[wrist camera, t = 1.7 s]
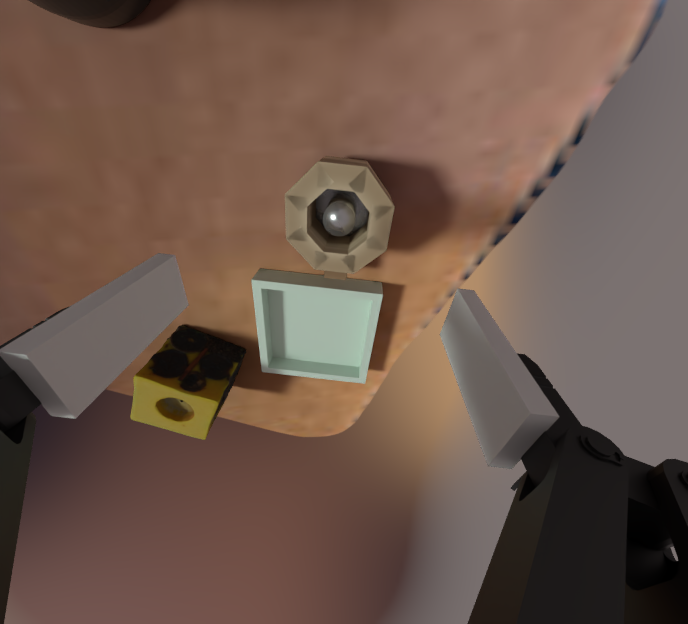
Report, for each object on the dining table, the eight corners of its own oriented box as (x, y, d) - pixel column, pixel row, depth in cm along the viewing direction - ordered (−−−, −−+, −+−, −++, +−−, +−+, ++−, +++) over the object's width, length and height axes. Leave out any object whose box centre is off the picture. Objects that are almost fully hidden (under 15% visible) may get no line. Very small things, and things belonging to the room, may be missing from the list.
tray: (260, 268, 33) (251, 279, 31) (381, 282, 33) (383, 294, 31) (268, 357, 41) (261, 371, 39) (364, 368, 42) (365, 383, 39)
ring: (297, 152, 24) (283, 157, 20) (395, 163, 24) (401, 170, 20) (297, 266, 30) (287, 287, 26) (375, 275, 30) (377, 298, 26)
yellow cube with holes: (172, 365, 44) (127, 419, 36) (179, 321, 39) (129, 373, 31) (233, 386, 46) (204, 443, 38) (248, 348, 41) (218, 403, 33)
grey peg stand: (315, 169, 27) (304, 178, 22) (376, 176, 27) (379, 186, 22) (314, 229, 30) (304, 249, 25) (367, 235, 30) (368, 256, 25)
